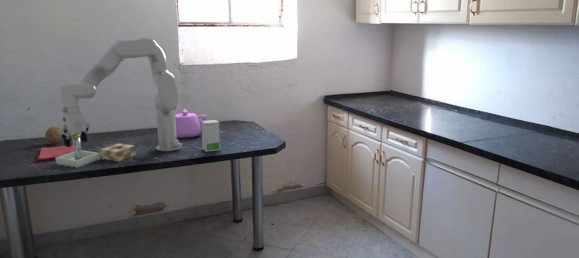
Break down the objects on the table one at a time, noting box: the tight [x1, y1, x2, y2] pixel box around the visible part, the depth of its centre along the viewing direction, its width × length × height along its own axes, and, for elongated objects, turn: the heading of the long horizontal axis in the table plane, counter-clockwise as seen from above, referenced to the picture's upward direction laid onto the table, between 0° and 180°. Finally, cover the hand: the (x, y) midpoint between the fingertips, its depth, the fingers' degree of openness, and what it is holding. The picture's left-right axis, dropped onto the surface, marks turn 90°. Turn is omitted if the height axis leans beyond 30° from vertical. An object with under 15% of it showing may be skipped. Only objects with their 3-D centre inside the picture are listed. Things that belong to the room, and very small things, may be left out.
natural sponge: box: [44, 126, 63, 145], centre depth 245 cm, size 9×9×10 cm
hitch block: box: [99, 143, 137, 162], centre depth 221 cm, size 12×12×5 cm
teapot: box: [175, 108, 208, 139], centre depth 264 cm, size 23×21×15 cm
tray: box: [55, 149, 101, 169], centre depth 214 cm, size 14×14×4 cm
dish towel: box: [36, 144, 74, 162], centre depth 228 cm, size 17×24×3 cm
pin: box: [70, 132, 82, 160], centre depth 213 cm, size 4×4×13 cm
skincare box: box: [200, 119, 221, 153], centre depth 232 cm, size 8×7×16 cm
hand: (76, 144), depth 212 cm, fingers open, 9 cm apart
